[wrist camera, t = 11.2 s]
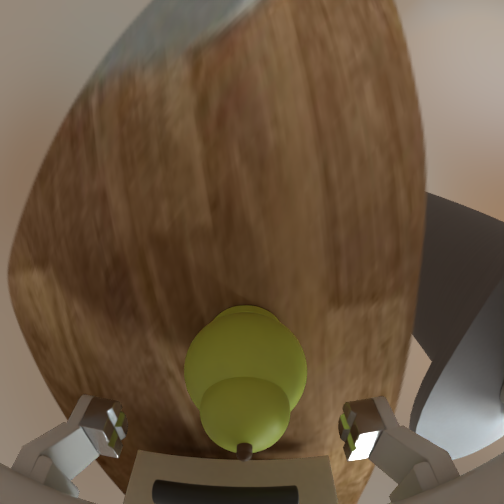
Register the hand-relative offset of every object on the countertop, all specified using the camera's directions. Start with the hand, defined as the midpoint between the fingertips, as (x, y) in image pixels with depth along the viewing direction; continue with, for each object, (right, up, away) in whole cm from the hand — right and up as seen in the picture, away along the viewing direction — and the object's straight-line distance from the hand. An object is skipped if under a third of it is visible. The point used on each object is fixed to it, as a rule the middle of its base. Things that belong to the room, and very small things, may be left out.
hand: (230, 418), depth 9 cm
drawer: (-1, -12, +9) cm, 15 cm away
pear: (+1, +2, +5) cm, 5 cm away
